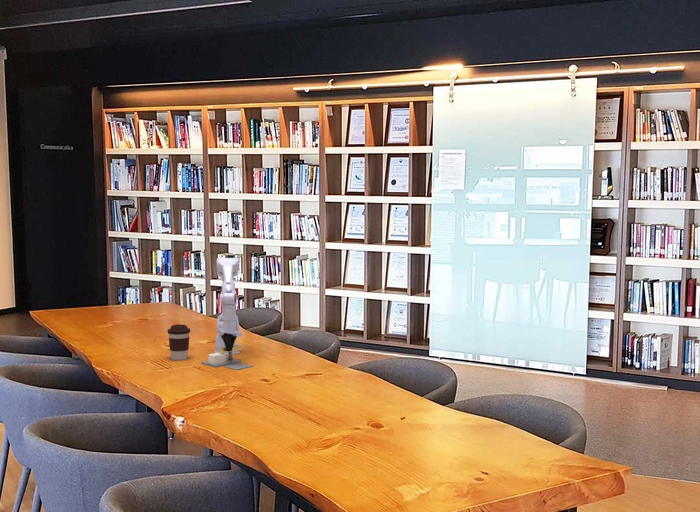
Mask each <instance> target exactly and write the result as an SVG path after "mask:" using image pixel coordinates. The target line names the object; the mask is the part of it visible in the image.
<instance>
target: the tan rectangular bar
mask: <svg viewBox="0 0 700 512" xmlns="http://www.w3.org/2000/svg"><path fill="white" fill-rule="evenodd" d="M241 350H242V351H243V345H242V344H236V345H233V349H232V351H229V352H233V351H238V352H239V351H241ZM227 352H228V351H226V347H222V348H219V353H227Z"/></svg>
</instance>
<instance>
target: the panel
mask: <svg viewBox="0 0 700 512" xmlns="http://www.w3.org/2000/svg"><path fill="white" fill-rule="evenodd" d="M233 356H234V354H233V352H228V355H227V356H226V362H223V363H218V364H212V363H208V360H205V361H201V365H204V366H208V367H211V368H212V367H213V368H215V367H216V368H220V367H224V366H226V365H231V364H236V363H239V362H240V363H242V360H241V359H237V358H234V357H233Z"/></svg>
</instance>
